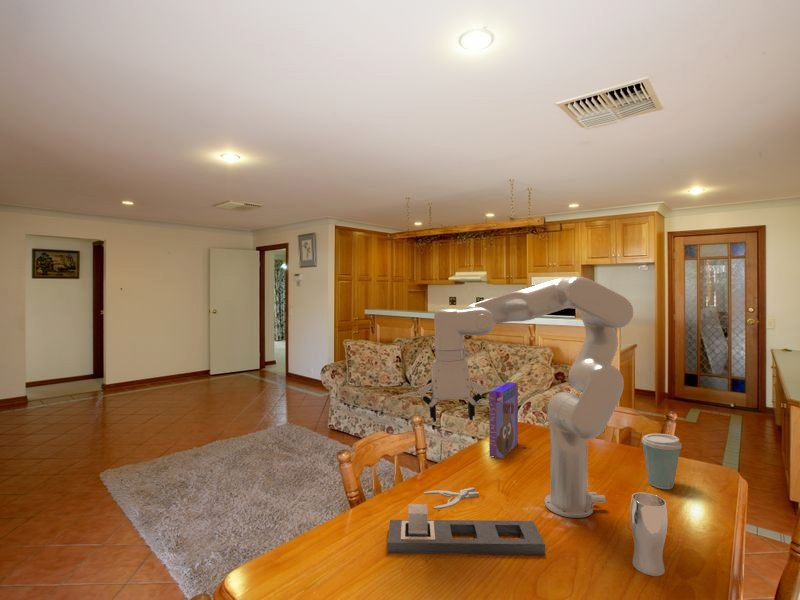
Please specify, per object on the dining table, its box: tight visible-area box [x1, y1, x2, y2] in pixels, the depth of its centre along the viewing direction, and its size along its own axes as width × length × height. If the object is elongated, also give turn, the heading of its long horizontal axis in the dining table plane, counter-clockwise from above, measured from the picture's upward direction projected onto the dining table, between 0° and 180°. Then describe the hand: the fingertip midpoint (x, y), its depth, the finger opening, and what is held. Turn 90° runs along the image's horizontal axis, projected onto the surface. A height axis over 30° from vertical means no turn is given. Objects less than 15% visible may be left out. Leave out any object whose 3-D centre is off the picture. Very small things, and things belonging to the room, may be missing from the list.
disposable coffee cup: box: [641, 433, 682, 490], centre depth 134 cm, size 11×11×15 cm
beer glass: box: [629, 491, 668, 577], centre depth 94 cm, size 7×7×15 cm
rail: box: [387, 519, 546, 556], centre depth 105 cm, size 36×10×3 cm, turn 88°
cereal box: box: [488, 381, 519, 459], centre depth 163 cm, size 17×5×24 cm, turn 147°
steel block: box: [407, 503, 429, 537], centre depth 105 cm, size 4×4×8 cm
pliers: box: [423, 487, 480, 510], centre depth 127 cm, size 10×2×15 cm
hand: (452, 419), depth 115 cm, fingers open, 9 cm apart
